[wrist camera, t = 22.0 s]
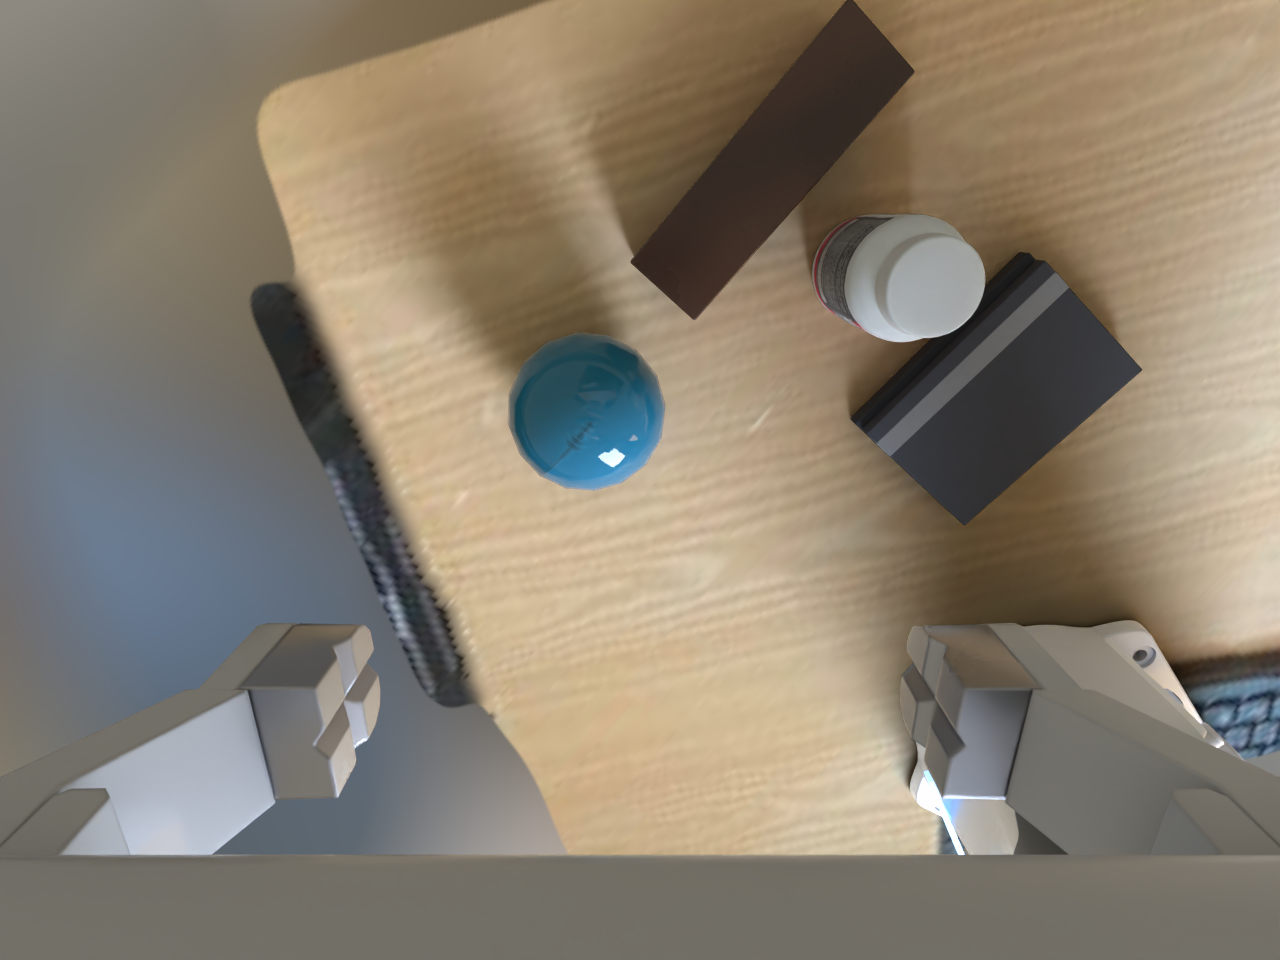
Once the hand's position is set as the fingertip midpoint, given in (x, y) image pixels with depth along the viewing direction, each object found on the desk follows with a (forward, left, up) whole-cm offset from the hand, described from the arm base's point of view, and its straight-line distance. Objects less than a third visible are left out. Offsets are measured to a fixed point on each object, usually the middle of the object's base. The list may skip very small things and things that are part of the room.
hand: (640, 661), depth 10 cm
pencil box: (+1, -10, -29) cm, 31 cm away
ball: (0, +4, -29) cm, 30 cm away
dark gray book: (-16, -10, -29) cm, 35 cm away
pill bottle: (-6, -10, -29) cm, 32 cm away
